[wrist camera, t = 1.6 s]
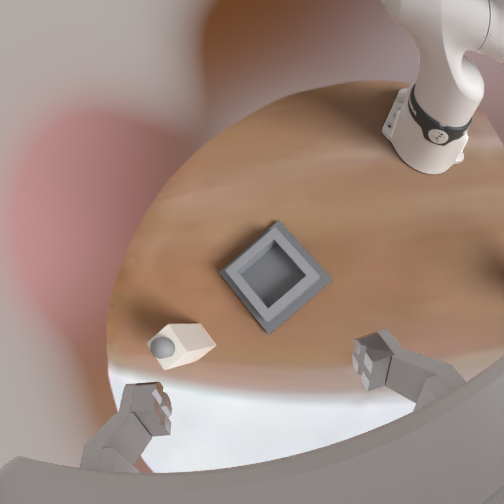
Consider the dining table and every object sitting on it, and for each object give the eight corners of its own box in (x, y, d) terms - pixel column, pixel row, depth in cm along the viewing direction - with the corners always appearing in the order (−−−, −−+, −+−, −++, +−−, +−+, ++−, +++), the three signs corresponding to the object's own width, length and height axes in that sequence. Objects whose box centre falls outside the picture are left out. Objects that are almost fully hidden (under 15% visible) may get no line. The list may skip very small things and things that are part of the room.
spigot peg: (200, 323, 52) (161, 323, 39) (216, 345, 50) (181, 353, 37) (181, 339, 52) (139, 343, 39) (196, 360, 50) (157, 372, 37)
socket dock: (279, 221, 53) (275, 214, 49) (332, 280, 48) (333, 276, 44) (220, 272, 53) (213, 269, 49) (269, 333, 49) (265, 335, 45)
